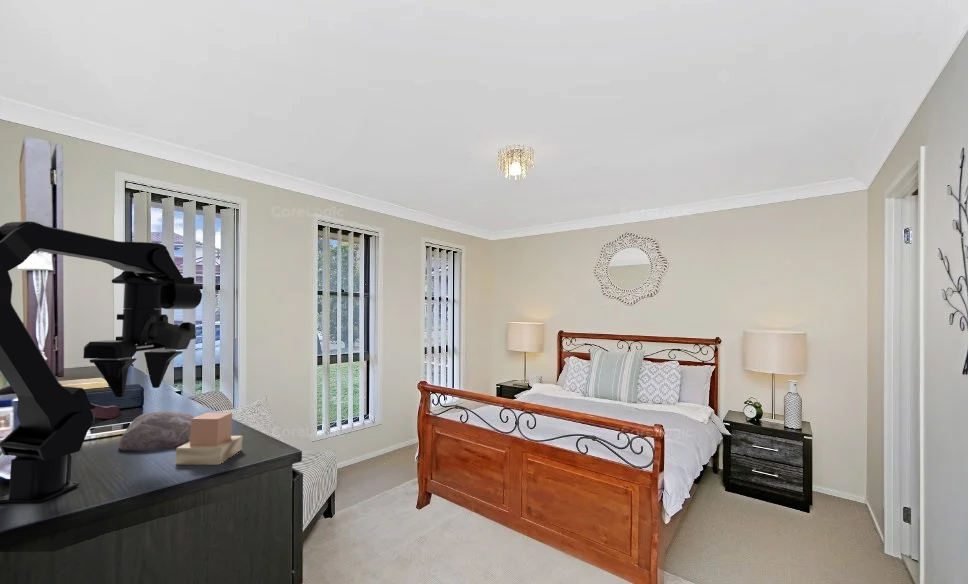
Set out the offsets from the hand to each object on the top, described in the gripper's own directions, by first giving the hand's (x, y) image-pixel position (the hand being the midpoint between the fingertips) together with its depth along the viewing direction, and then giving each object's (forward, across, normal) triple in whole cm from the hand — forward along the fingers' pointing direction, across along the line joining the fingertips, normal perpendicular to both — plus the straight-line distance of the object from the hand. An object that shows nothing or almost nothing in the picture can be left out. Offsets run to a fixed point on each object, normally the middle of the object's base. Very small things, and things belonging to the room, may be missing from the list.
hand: (138, 392), depth 82 cm
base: (+13, +3, -12) cm, 18 cm away
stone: (+14, +13, +2) cm, 19 cm away
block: (+10, +3, -12) cm, 16 cm away
